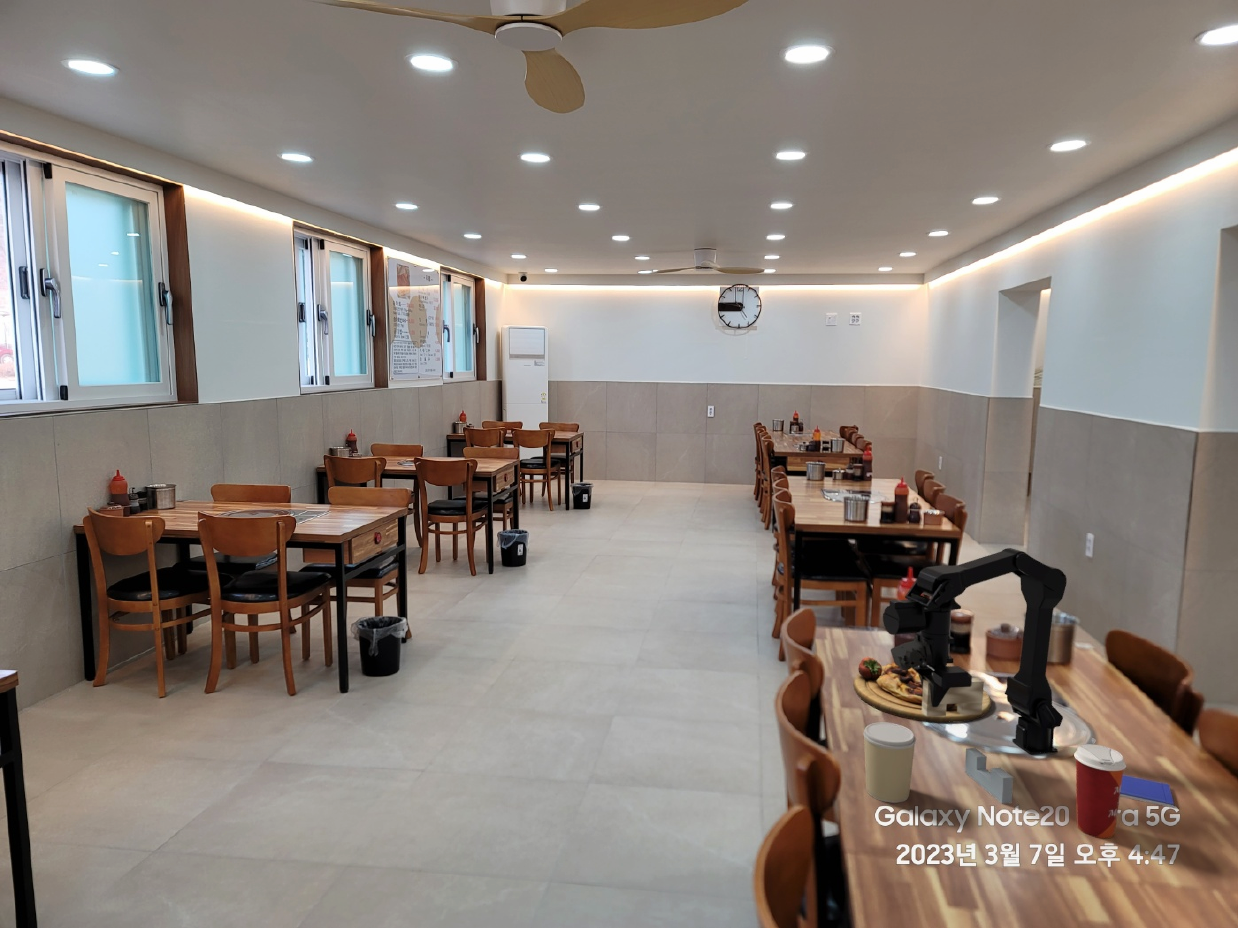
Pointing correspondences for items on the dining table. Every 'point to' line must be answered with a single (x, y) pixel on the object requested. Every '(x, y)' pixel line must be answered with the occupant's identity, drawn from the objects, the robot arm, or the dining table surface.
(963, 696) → the birch plate
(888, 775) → the coffee cup
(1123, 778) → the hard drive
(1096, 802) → the paper cup
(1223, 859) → the dining table surface
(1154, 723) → the dining table surface
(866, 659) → the wooden plate with food
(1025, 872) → the dining table surface
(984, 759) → the gray u-shaped block
